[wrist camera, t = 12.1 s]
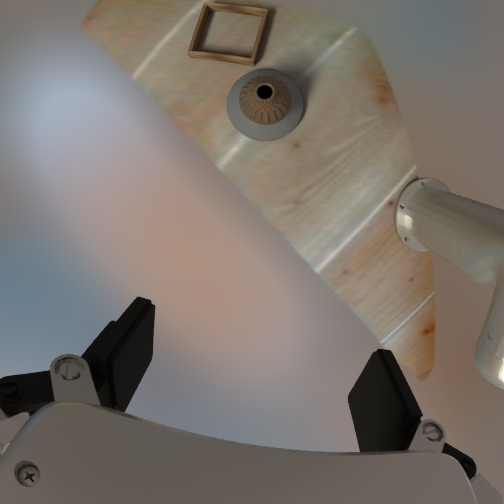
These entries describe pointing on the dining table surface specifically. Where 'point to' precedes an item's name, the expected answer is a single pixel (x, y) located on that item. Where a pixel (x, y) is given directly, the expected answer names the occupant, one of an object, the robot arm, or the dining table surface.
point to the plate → (256, 129)
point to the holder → (231, 9)
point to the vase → (265, 100)
